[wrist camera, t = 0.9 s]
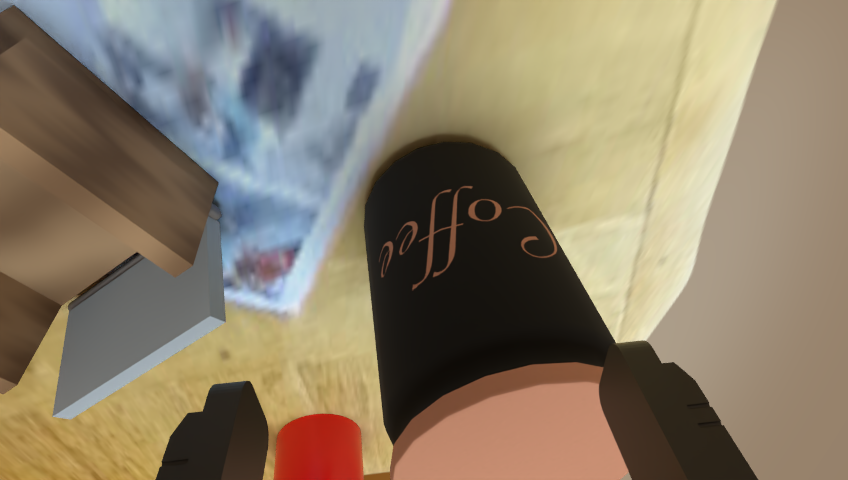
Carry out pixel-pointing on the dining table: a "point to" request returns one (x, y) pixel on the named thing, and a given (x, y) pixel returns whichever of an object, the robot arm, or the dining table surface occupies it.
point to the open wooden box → (78, 188)
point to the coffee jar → (481, 327)
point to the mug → (319, 449)
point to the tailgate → (138, 322)
